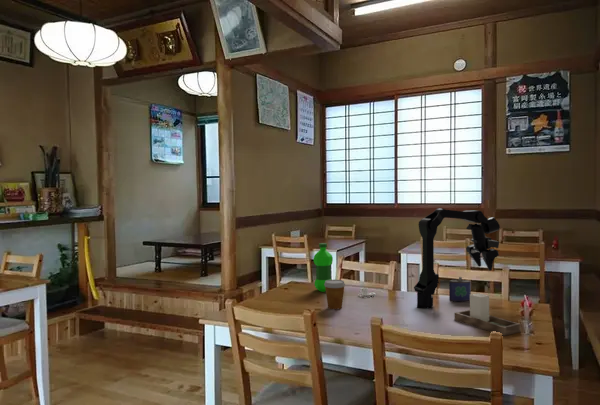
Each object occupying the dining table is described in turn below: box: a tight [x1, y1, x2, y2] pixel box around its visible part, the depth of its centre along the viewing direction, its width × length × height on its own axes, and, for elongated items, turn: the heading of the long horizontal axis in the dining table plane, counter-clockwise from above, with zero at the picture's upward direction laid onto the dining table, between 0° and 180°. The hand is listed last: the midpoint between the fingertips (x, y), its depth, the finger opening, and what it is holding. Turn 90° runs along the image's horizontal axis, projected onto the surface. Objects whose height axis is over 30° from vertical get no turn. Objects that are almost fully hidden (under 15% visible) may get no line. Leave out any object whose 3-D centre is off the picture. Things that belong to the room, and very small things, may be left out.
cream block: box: [469, 292, 490, 321], centre depth 174 cm, size 5×5×10 cm
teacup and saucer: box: [359, 287, 376, 299], centre depth 223 cm, size 9×8×4 cm
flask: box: [448, 276, 472, 302], centre depth 209 cm, size 10×3×12 cm, turn 87°
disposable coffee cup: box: [324, 279, 346, 310], centre depth 201 cm, size 10×10×12 cm
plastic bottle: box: [313, 242, 334, 293], centre depth 235 cm, size 10×10×25 cm
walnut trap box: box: [453, 309, 522, 337], centre depth 172 cm, size 23×9×3 cm, turn 28°
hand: (485, 268), depth 210 cm, fingers open, 9 cm apart
